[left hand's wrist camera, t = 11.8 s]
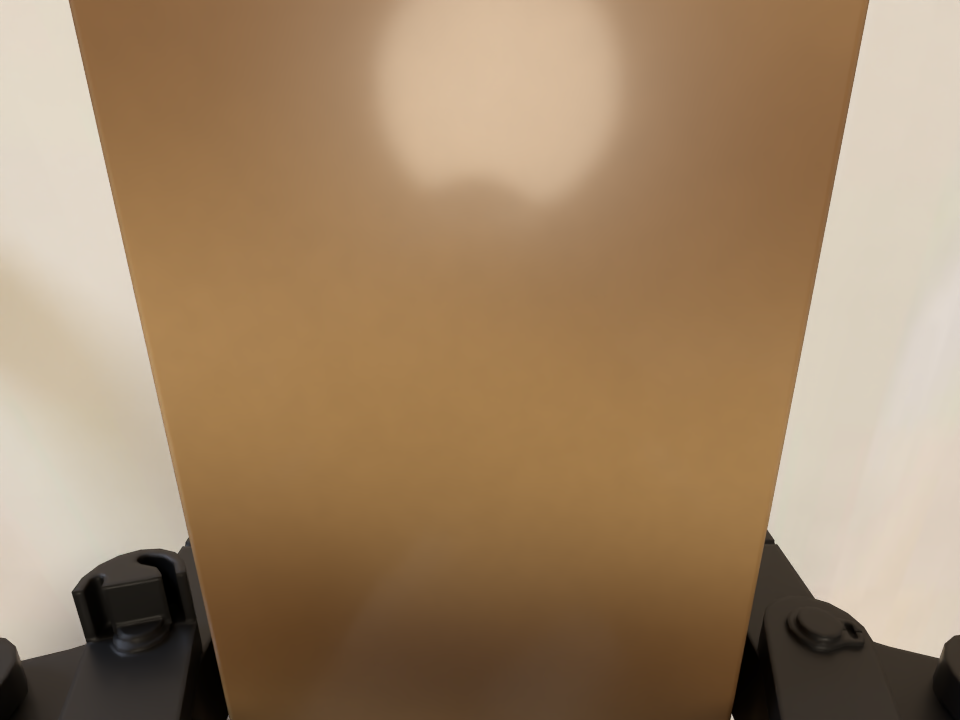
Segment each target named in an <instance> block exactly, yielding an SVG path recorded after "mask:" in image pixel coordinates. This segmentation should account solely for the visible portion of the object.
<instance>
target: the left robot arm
mask: <svg viewBox="0 0 960 720" xmlns="http://www.w3.org/2000/svg"><path fill="white" fill-rule="evenodd" d="M185 543H186V544H185V546H183V547H182V548H181V550H180V551H179V553H178V554H177V553H175V552H172V551H167V550H163V549H146V550H138V551H134V552H130V553H127V554H123V555H119V556H117V557H115V558H113V559H111V560H109V561H107V562H105V563H102V564H100V565H98V566H97V567H96V568H94V569H93V570H92V571H91V572H89V573H88V574H87V575H85V576H84V577H83V578H82V579H81V580H80V581H79V583H78V584H77V585H76V587H75V588H74V590H73V591H72V595H73V598H74V602H75V605H76V608H77V612H78V615H79V618H80V622H81V625H82V628H83V632H84V635H85V638H86V642H87V643H86V645H83V646H79V647H76V648H73V649H69V650H65V651H61V652H57V653H53V654H48V655H44V656H40V657H36V658H32V659H27V660H23V661H21V660H20V658H19V655H18V652H17V649H16V646H14V645H13V644H12V643H11V642H10V641H8V640H7V639H6V638H0V720H227V717H228V715H229V713H228V708H227V704H226V699H225V695H224V690H223V686H222V682H221V677H220V673H219V668H218V664H217V659H216V655H215V650H214V646H213V641H212V637H211V632H210V628H209V624H208V619H207V615H206V610H205V606H204V601H203V597H202V592H201V588H200V583H199V579H198V574H197V570H196V566H195V561H194V557H193V552H192V548H191V543H190V539H189V538H188V539H187V541H186V542H185ZM732 715H733V718H734V720H960V635H956V636H954V637H952V638H951V639H950V640H949V641H947V642H946V643H945V644H944V647H943V650H942V653H941V656H940V659H939V658H935V657H931V656H927V655H922V654H918V653H914V652H910V651H905V650H901V649H897V648H893V647H889V646H886V645H882V644H879V643H876V642H873V641H872V639H871V637H870V636H869V634H868V633H867V631H866V630H865V628H864V627H863V626H862V625H861V624H860V623H859V622H858V621H856V620H855V619H854V618H853V617H852V616H851V615H849V614H848V613H846V612H845V611H843V610H841V609H839V608H837V607H835V606H833V605H832V604H830V603H827V602H824V601H820V600H817V599H815V598H814V597H813V595H812V594H811V592H810V591H809V589H808V588H807V587H806V585H805V584H804V582H803V581H802V579H801V578H800V576H799V575H798V574H797V572H796V571H795V569H794V568H793V566H792V565H791V564H790V562H789V561H788V559H787V558H786V556H785V555H784V553H783V552H782V551H781V549H780V548H779V546H778V545H777V544H775V543H774V539H773V538H772V536H771V535H770V533H769V532H768V530H767V532H766V537H765V542H764V548H763V553H762V558H761V563H760V568H759V573H758V579H757V584H756V589H755V594H754V599H753V605H752V610H751V615H750V620H749V625H748V630H747V636H746V641H745V646H744V651H743V656H742V662H741V667H740V672H739V677H738V682H737V687H736V693H735V698H734V703H733V708H732Z"/></svg>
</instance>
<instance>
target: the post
mask: <svg viewBox="0 0 960 720" xmlns="http://www.w3.org/2000/svg"><path fill="white" fill-rule="evenodd" d="M69 3H70V8H71V12H72V17H73V21H74V26H75V30H76V35H77V39H78V44H79V48H80V52H81V57H82V61H83V66H84V70H85V75H86V79H87V84H88V88H89V93H90V97H91V102H92V106H93V110H94V115H95V119H96V124H97V128H98V133H99V137H100V142H101V146H102V151H103V155H104V160H105V164H106V168H107V173H108V177H109V182H110V186H111V191H112V195H113V200H114V204H115V209H116V213H117V218H118V222H119V226H120V231H121V235H122V240H123V244H124V249H125V253H126V258H127V262H128V267H129V271H130V276H131V280H132V284H133V289H134V293H135V298H136V302H137V307H138V311H139V316H140V320H141V325H142V329H143V334H144V338H145V342H146V347H147V351H148V356H149V360H150V365H151V369H152V374H153V378H154V383H155V387H156V392H157V396H158V400H159V405H160V409H161V414H162V418H163V423H164V427H165V432H166V436H167V441H168V445H169V450H170V454H171V458H172V463H173V467H174V472H175V476H176V481H177V485H178V490H179V494H180V499H181V503H182V508H183V512H184V516H185V521H186V525H187V530H188V534H189V539H190V543H191V548H192V552H193V557H194V561H195V566H196V570H197V574H198V579H199V583H200V588H201V592H202V597H203V601H204V606H205V610H206V615H207V619H208V624H209V628H210V632H211V637H212V641H213V646H214V650H215V655H216V659H217V664H218V668H219V673H220V677H221V682H222V686H223V690H224V695H225V699H226V704H227V708H228V713H229V717H230V720H730V718H731V713H732V708H733V703H734V698H735V693H736V687H737V682H738V677H739V672H740V667H741V662H742V656H743V651H744V646H745V641H746V636H747V630H748V625H749V620H750V615H751V610H752V605H753V599H754V594H755V589H756V584H757V579H758V573H759V568H760V563H761V558H762V553H763V548H764V542H765V537H766V532H767V527H768V522H769V517H770V511H771V506H772V501H773V496H774V491H775V485H776V480H777V475H778V470H779V465H780V460H781V454H782V449H783V444H784V439H785V434H786V429H787V423H788V418H789V413H790V408H791V403H792V397H793V392H794V387H795V382H796V377H797V372H798V366H799V361H800V356H801V351H802V346H803V341H804V335H805V330H806V325H807V320H808V315H809V309H810V304H811V299H812V294H813V289H814V284H815V278H816V273H817V268H818V263H819V258H820V252H821V247H822V242H823V237H824V232H825V227H826V221H827V216H828V211H829V206H830V201H831V196H832V190H833V185H834V180H835V175H836V170H837V164H838V159H839V154H840V149H841V144H842V139H843V133H844V128H845V123H846V118H847V113H848V108H849V102H850V97H851V92H852V87H853V82H854V76H855V71H856V66H857V61H858V56H859V51H860V45H861V40H862V35H863V30H864V25H865V19H866V14H867V9H868V4H869V0H69Z"/></svg>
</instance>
